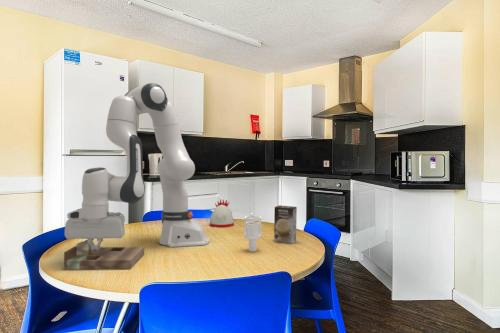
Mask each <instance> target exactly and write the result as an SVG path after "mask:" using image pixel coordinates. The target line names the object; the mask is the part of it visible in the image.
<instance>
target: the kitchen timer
mask: <svg viewBox="0 0 500 333" xmlns="http://www.w3.org/2000/svg"><path fill="white" fill-rule="evenodd" d="M216 202H217V203H216ZM216 202H215V203H214V205H215V208H214V209H213V211H212V213H211V217H210V218H209V226H210V227H211V228H219V229H220V228H222V229H223V228H224V229H225V228H231V227H234V226H235V220H234V216H233V211H231V210H230V208H229V207H228V206H229V204H230V201H228V200H227V199H226V200H225V201H224V199H220V200H219V201H216Z"/></svg>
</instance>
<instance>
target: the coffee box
mask: <svg viewBox="0 0 500 333" xmlns="http://www.w3.org/2000/svg"><path fill="white" fill-rule="evenodd" d="M297 210H298V209H297V206H291V205H290V206H289V205H277V206H275V207H274V219H273V220H274V222H273V223H274V226H273V227H274V228H273V232H274V233H273V234H274V235H273V242H275V243H280V244H281V243H283V244H291V245H293V244H294V243H296V242H297V214H298V213H297Z"/></svg>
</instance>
